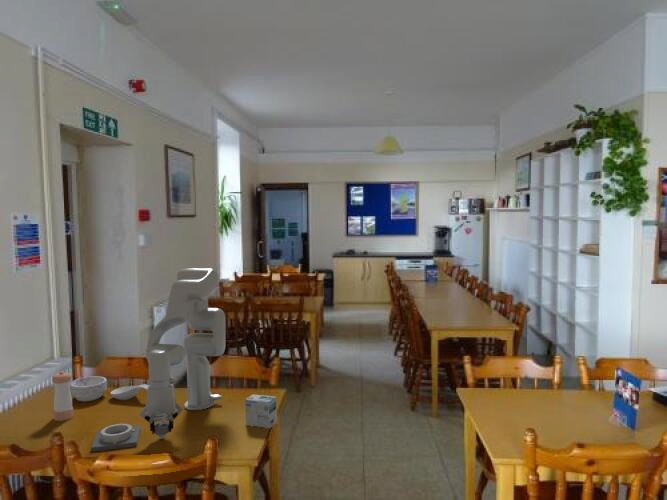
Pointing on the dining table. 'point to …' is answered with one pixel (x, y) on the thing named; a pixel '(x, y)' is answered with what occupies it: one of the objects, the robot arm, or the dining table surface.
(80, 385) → the marbled white bowl
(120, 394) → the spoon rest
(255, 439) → the dining table surface
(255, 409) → the light bulb box
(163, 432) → the light bulb
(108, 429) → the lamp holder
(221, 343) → the robot arm
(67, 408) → the salt shaker
